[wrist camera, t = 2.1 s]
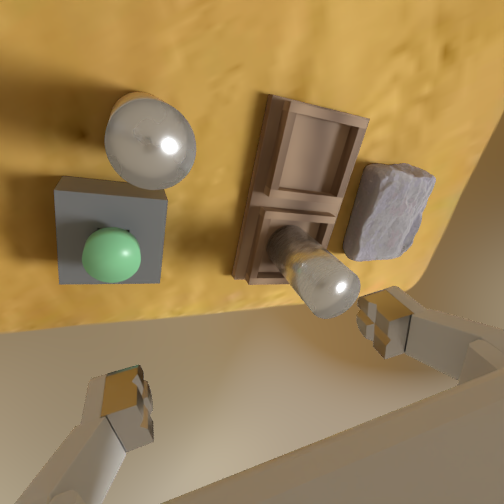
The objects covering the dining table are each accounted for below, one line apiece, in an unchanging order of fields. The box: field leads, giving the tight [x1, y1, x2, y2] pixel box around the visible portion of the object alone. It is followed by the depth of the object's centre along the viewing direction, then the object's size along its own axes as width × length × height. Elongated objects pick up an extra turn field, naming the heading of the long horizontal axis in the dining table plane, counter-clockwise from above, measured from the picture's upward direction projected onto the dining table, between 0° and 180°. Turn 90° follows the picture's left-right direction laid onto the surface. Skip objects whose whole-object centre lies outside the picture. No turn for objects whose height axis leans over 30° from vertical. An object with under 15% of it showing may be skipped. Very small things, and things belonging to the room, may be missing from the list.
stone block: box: [343, 163, 436, 261], centre depth 39 cm, size 12×5×10 cm
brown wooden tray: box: [232, 94, 370, 285], centre depth 34 cm, size 11×19×2 cm, turn 168°
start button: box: [82, 227, 141, 283], centre depth 25 cm, size 4×4×5 cm
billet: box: [105, 92, 196, 190], centre depth 22 cm, size 5×5×10 cm
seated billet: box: [267, 225, 360, 319], centre depth 32 cm, size 5×5×10 cm
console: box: [54, 176, 168, 284], centre depth 28 cm, size 8×8×4 cm
